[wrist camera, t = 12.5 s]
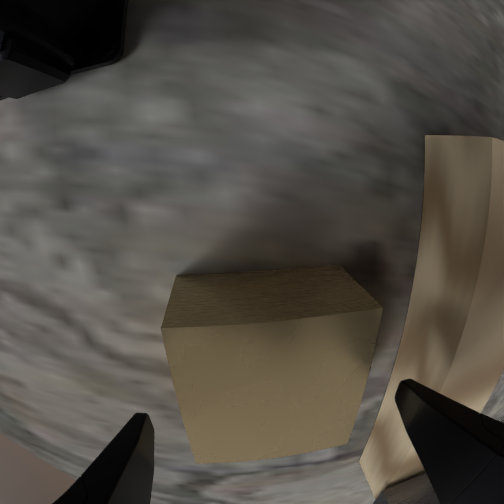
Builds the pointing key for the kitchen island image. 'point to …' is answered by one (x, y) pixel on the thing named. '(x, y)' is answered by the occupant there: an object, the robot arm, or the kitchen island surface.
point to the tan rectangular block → (269, 360)
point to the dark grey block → (409, 492)
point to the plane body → (448, 297)
